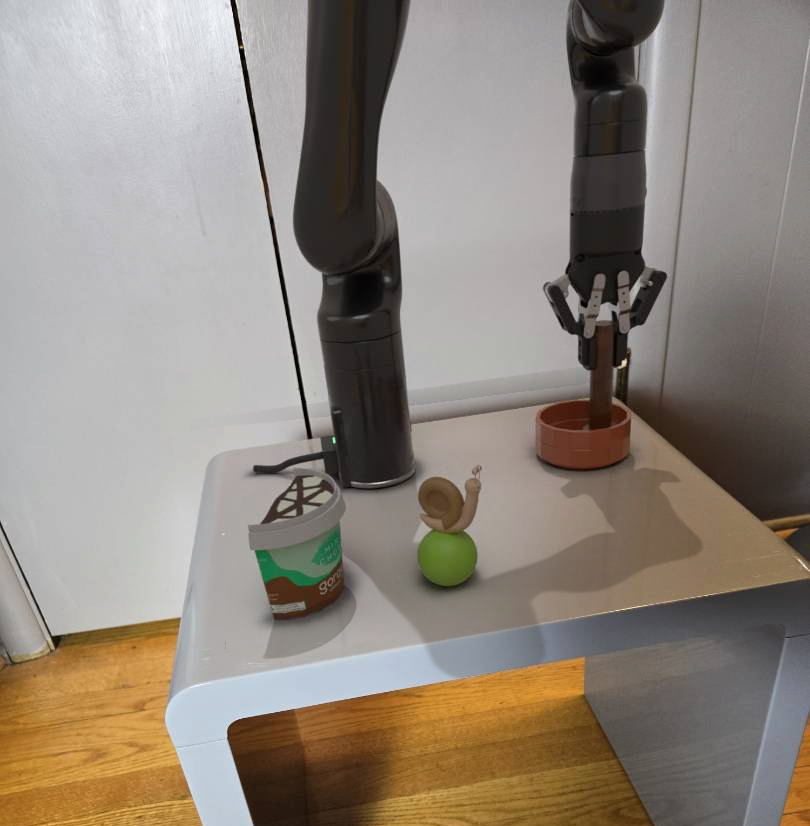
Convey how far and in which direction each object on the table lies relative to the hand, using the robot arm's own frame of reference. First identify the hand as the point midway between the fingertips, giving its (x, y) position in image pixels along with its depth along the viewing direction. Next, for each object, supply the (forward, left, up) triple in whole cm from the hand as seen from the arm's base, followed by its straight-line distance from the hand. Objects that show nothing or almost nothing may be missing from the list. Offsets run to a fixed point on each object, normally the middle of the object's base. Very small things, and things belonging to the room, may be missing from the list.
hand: (601, 366), depth 84 cm
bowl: (-2, +1, -11) cm, 11 cm away
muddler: (0, 0, -9) cm, 9 cm away
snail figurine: (-23, -23, -11) cm, 34 cm away
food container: (-35, -21, -11) cm, 42 cm away
